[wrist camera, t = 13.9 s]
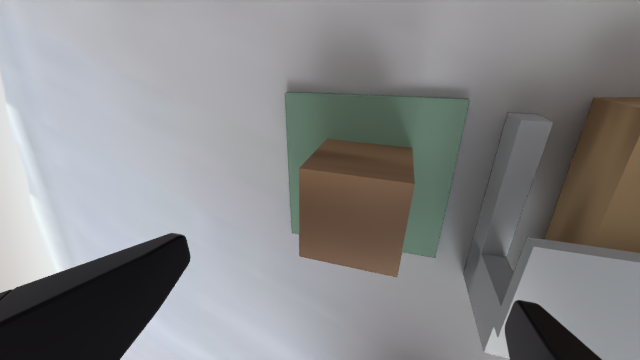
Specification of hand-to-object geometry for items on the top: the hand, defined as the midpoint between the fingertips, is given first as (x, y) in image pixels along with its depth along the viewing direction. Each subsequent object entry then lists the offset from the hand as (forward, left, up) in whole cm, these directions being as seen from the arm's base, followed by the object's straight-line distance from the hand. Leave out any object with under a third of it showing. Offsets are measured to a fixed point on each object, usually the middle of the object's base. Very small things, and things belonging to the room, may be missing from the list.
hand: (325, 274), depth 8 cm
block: (0, 0, -7) cm, 7 cm away
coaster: (0, 0, -8) cm, 8 cm away
